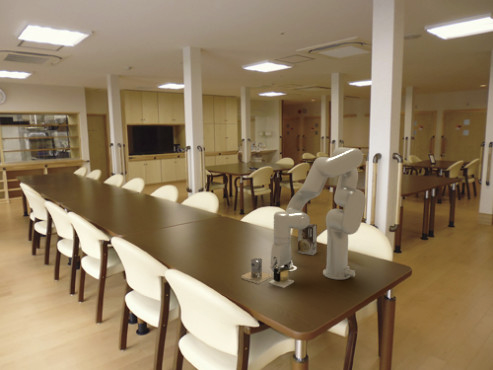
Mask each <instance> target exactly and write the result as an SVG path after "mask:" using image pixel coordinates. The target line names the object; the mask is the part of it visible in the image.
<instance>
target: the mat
mask: <svg viewBox="0 0 493 370" xmlns="http://www.w3.org/2000/svg"><path fill="white" fill-rule="evenodd" d="M294 282H295V281H294V280H293V279H288V280H287V281H280V282H277V281H274V278H273V279H271V280H270V281H268V283H269V284H271V285H272V286H273V285H274V286H276V287H280V288H282V289H283V288H286V287H289V286H290V285H292V284H293V283H294Z"/></svg>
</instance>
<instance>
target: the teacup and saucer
mask: <svg viewBox="0 0 493 370" xmlns="http://www.w3.org/2000/svg"><path fill="white" fill-rule="evenodd" d="M281 267H284V265H283V266H281ZM292 267H293V268H292ZM297 269H298V267H297V266H295V265H294V263H293V259H292V260H291V263H290V268H289V272H293V271H296V270H297Z"/></svg>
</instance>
